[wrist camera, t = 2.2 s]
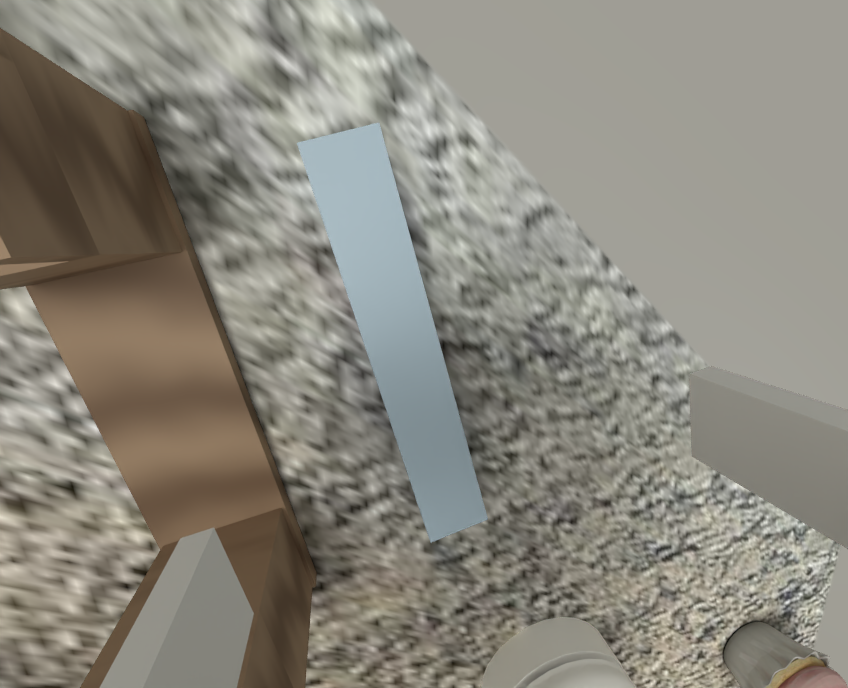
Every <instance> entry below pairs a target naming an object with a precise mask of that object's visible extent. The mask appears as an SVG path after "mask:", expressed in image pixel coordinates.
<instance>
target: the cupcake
mask: <svg viewBox="0 0 848 688" xmlns="http://www.w3.org/2000/svg"><path fill="white" fill-rule="evenodd" d="M724 660H725V663H726V666H727V667H728V669H729V670H730V672H731V673H732V674H733V676H734V677H735V679H736V680H737V682H738V683H739V685H740V686H741V688H848V687H847V684H846V682H845V681H844V679H843V678H842V677H841V676H840V675H839V674H838V673H837V672H835V671H834V669H833V668H831V667H829V666H828V664H829V660H830V656H828V655H825V654H823V653H820V652H817V651H815V650H813V649H810V648H807V647H805V646H803V645H801V644H799V643H798V642H796V641H794V640H793V639H791V638H789V637H788V636H786V635H784V634H783V633H781V632H780V631H778V630H776V629H775V628H773V627H772V626H770V625H768V624H766V623H764V622H752V623H750V624H747V625H745V626H743V627H742V628H740V629H739V630H738V631H737V632H736V633H735V634H734V635H733V636H732V637H731V638H730V639H729V641H728V643H727V645H726V647H725V650H724Z"/></svg>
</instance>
